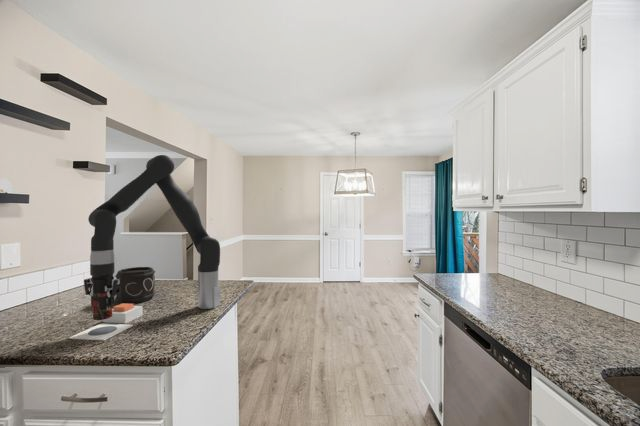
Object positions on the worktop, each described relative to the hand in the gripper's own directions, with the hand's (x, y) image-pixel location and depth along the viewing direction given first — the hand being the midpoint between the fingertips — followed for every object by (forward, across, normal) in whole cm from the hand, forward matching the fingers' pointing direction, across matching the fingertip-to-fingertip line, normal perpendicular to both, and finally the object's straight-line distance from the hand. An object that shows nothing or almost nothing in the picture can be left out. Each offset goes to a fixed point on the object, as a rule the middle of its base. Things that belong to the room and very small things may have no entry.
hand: (102, 305), depth 116 cm
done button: (+7, +3, -14) cm, 16 cm away
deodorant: (+5, 0, 0) cm, 5 cm away
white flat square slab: (+10, 0, 0) cm, 10 cm away
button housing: (+10, +3, -14) cm, 17 cm away
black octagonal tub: (+10, +18, -41) cm, 46 cm away
